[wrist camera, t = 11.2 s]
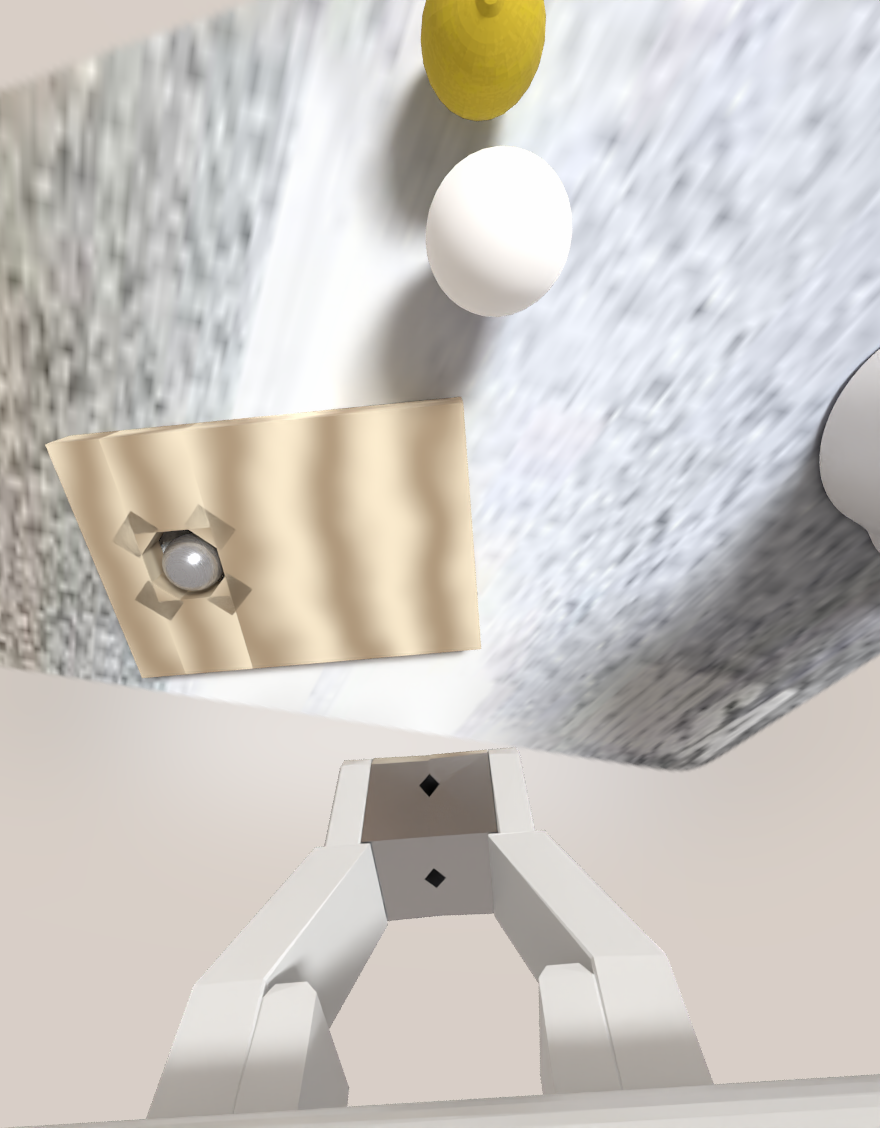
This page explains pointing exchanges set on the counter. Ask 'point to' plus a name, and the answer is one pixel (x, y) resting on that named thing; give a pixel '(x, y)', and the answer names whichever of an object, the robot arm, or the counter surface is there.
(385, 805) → the robot arm
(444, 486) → the beige flat wooden board
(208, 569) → the ball
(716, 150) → the counter surface
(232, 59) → the counter surface
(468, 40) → the lemon
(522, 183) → the light bulb
